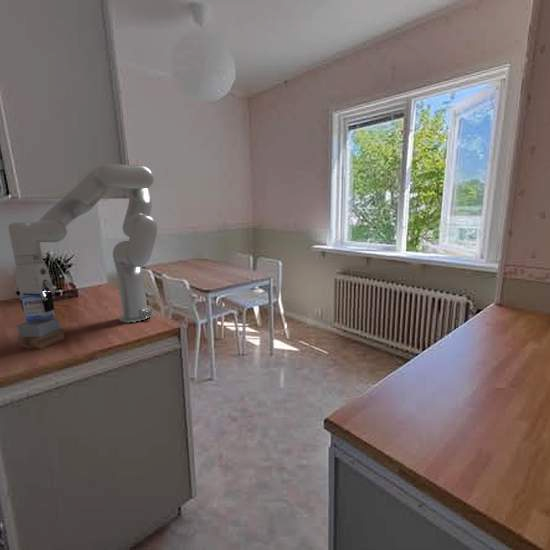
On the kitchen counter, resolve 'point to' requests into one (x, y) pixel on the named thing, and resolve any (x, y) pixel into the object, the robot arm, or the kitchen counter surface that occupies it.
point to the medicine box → (35, 307)
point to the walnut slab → (41, 340)
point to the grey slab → (38, 327)
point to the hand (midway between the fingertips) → (38, 310)
